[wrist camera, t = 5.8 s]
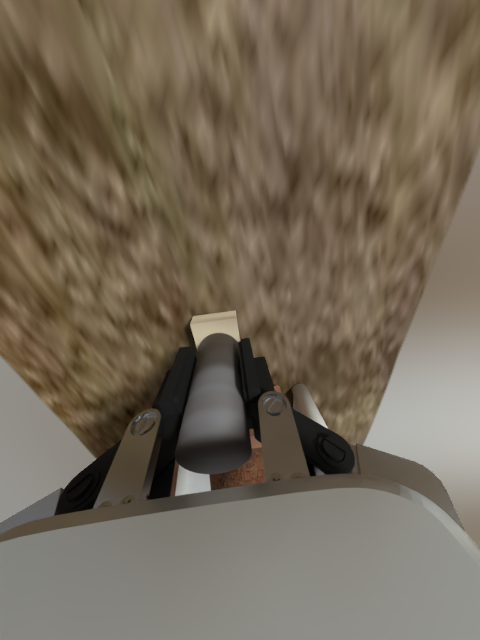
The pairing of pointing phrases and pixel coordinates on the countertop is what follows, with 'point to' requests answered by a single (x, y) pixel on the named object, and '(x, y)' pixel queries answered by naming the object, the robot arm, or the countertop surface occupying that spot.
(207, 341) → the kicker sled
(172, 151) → the countertop surface
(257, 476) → the coconut
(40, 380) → the countertop surface
